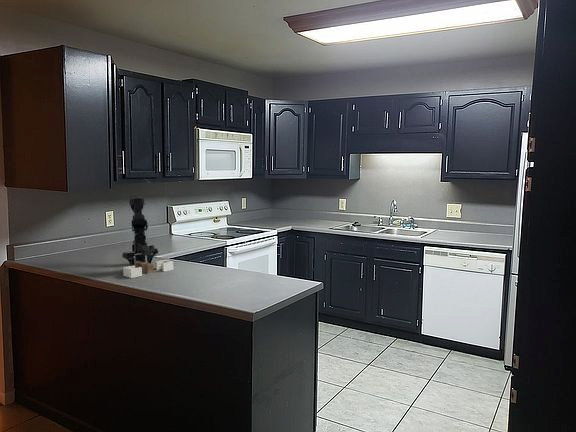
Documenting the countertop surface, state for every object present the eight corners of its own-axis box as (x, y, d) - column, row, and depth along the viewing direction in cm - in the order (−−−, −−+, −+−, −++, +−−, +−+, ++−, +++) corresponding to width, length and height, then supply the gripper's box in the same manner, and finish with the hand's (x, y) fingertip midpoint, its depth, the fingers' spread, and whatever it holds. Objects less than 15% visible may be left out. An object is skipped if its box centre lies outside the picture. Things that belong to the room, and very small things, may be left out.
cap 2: (155, 269, 259) (155, 261, 258) (165, 267, 263) (165, 259, 263) (163, 271, 253) (163, 263, 253) (173, 269, 258) (173, 261, 257)
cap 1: (123, 275, 245) (123, 267, 244) (134, 273, 249) (133, 265, 249) (131, 278, 239) (130, 269, 239) (142, 275, 244) (141, 267, 243)
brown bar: (130, 270, 259) (129, 261, 258) (135, 269, 262) (135, 260, 261) (148, 273, 250) (147, 264, 249) (153, 272, 252) (153, 263, 252)
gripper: (131, 244, 241) (133, 273, 243) (163, 239, 255) (164, 267, 257) (121, 242, 249) (122, 270, 251) (152, 237, 263) (153, 264, 264)
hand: (141, 268), depth 255 cm, fingers open, 9 cm apart
